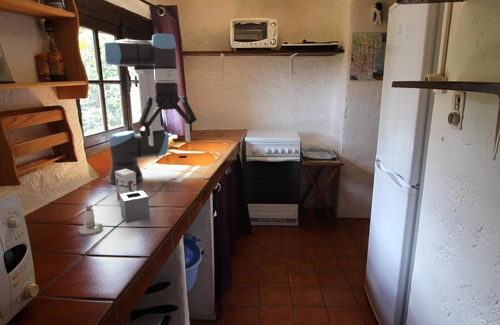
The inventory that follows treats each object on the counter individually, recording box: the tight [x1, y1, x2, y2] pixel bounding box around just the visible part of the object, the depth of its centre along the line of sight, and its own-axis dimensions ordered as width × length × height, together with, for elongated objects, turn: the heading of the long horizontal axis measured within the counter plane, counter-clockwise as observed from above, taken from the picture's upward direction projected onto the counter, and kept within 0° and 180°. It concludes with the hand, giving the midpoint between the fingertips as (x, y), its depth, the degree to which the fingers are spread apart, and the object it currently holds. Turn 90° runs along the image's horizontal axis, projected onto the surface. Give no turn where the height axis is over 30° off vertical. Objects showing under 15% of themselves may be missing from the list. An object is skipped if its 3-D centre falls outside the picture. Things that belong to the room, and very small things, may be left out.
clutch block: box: [119, 190, 151, 223], centre depth 120 cm, size 8×8×8 cm
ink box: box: [115, 169, 138, 200], centre depth 137 cm, size 9×5×12 cm, turn 47°
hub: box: [78, 204, 104, 236], centre depth 109 cm, size 7×7×8 cm
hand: (170, 143), depth 121 cm, fingers open, 13 cm apart
